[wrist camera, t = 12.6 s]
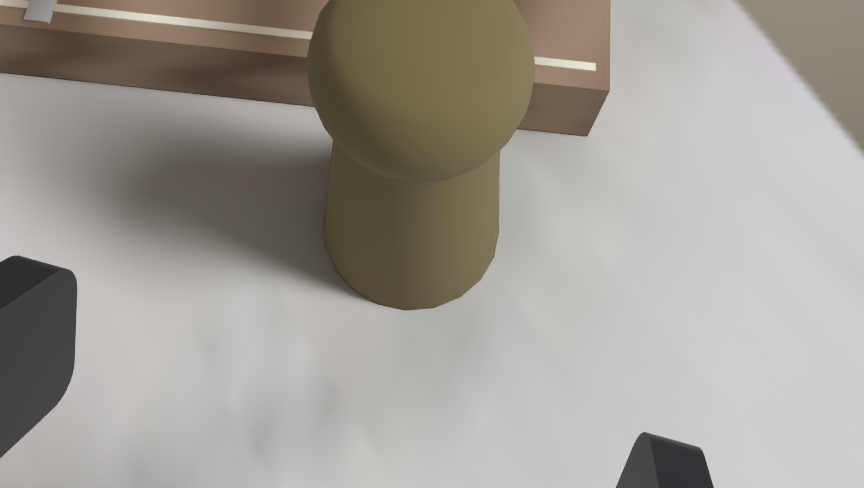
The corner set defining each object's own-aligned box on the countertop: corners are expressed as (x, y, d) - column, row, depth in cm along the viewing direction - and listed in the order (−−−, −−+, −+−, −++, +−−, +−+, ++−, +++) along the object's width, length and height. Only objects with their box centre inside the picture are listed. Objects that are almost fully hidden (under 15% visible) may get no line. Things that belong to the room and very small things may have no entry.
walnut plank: (-68, 64, 27) (-122, 8, 24) (-16, -64, 29) (-60, -129, 26) (587, 135, 27) (610, 88, 25) (590, 4, 30) (611, -54, 27)
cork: (532, 252, 26) (626, 62, 15) (382, 344, 24) (376, 201, 14) (437, 121, 27) (463, -127, 17) (291, 200, 26) (226, -21, 16)
